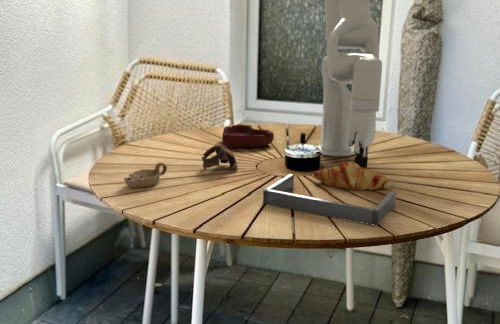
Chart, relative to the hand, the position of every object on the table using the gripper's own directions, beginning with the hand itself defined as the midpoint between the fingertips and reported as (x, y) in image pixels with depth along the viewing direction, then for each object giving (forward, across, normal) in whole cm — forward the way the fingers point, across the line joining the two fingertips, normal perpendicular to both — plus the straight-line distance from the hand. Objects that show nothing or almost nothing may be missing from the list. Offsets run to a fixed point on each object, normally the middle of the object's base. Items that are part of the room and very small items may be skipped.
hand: (360, 170), depth 162 cm
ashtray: (+3, -16, -46) cm, 49 cm away
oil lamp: (+3, +33, -48) cm, 58 cm away
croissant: (+3, +6, 0) cm, 7 cm away
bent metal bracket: (+3, +23, 0) cm, 23 cm away
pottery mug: (+3, +11, -38) cm, 40 cm away
